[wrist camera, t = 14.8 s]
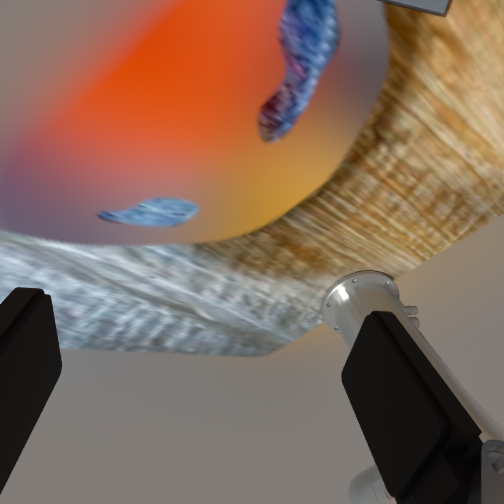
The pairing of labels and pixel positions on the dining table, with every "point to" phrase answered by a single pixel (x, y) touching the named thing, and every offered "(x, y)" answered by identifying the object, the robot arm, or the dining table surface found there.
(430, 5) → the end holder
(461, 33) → the dining table surface
